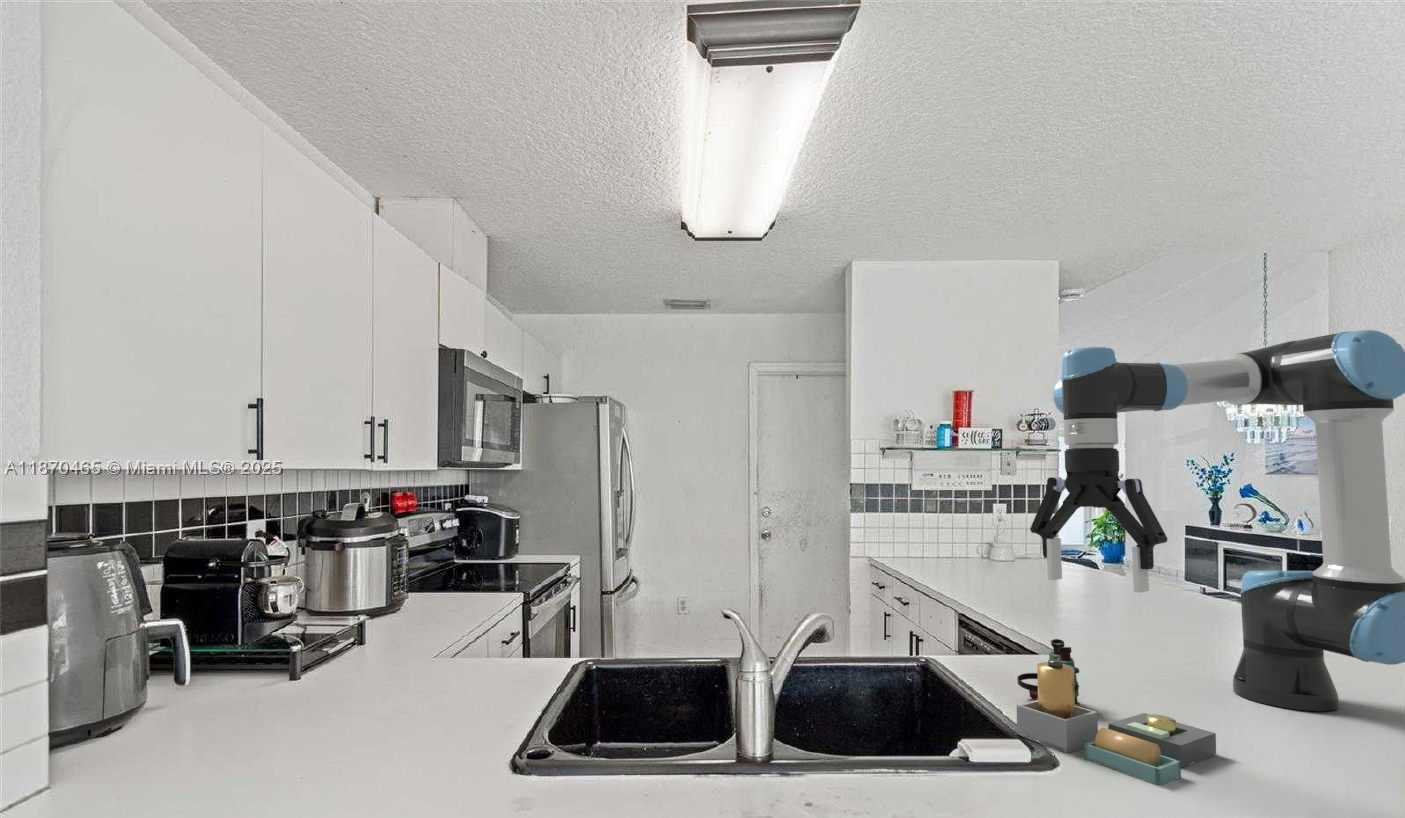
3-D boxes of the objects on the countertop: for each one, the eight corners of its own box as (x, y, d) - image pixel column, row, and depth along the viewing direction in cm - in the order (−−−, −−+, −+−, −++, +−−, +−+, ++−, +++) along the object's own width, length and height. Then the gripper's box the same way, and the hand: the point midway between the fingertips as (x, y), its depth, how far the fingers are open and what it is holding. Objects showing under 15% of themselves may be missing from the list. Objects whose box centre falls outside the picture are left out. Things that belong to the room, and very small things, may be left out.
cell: (1050, 727, 116) (1048, 655, 116) (1082, 737, 112) (1080, 662, 112) (1031, 734, 113) (1030, 660, 113) (1064, 744, 109) (1062, 667, 109)
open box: (1048, 726, 118) (1048, 697, 118) (1098, 743, 111) (1097, 712, 111) (1016, 735, 114) (1016, 705, 114) (1066, 753, 107) (1066, 720, 107)
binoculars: (1009, 638, 136) (1068, 637, 134) (1016, 698, 135) (1075, 697, 133) (1020, 650, 127) (1083, 648, 125) (1027, 714, 126) (1091, 713, 124)
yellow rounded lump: (1154, 730, 112) (1154, 712, 112) (1180, 737, 109) (1180, 720, 109) (1142, 734, 110) (1141, 716, 110) (1168, 742, 107) (1167, 724, 107)
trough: (1106, 751, 108) (1105, 722, 108) (1180, 776, 99) (1180, 745, 100) (1084, 758, 105) (1084, 728, 105) (1159, 785, 96) (1158, 752, 97)
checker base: (1144, 732, 116) (1144, 708, 116) (1216, 754, 108) (1215, 728, 108) (1108, 744, 111) (1108, 719, 111) (1181, 768, 102) (1180, 740, 103)
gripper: (1005, 448, 125) (1009, 576, 124) (1162, 445, 104) (1169, 599, 103) (1033, 448, 129) (1037, 572, 128) (1189, 445, 108) (1196, 594, 107)
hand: (1096, 585), depth 115 cm, fingers open, 13 cm apart
